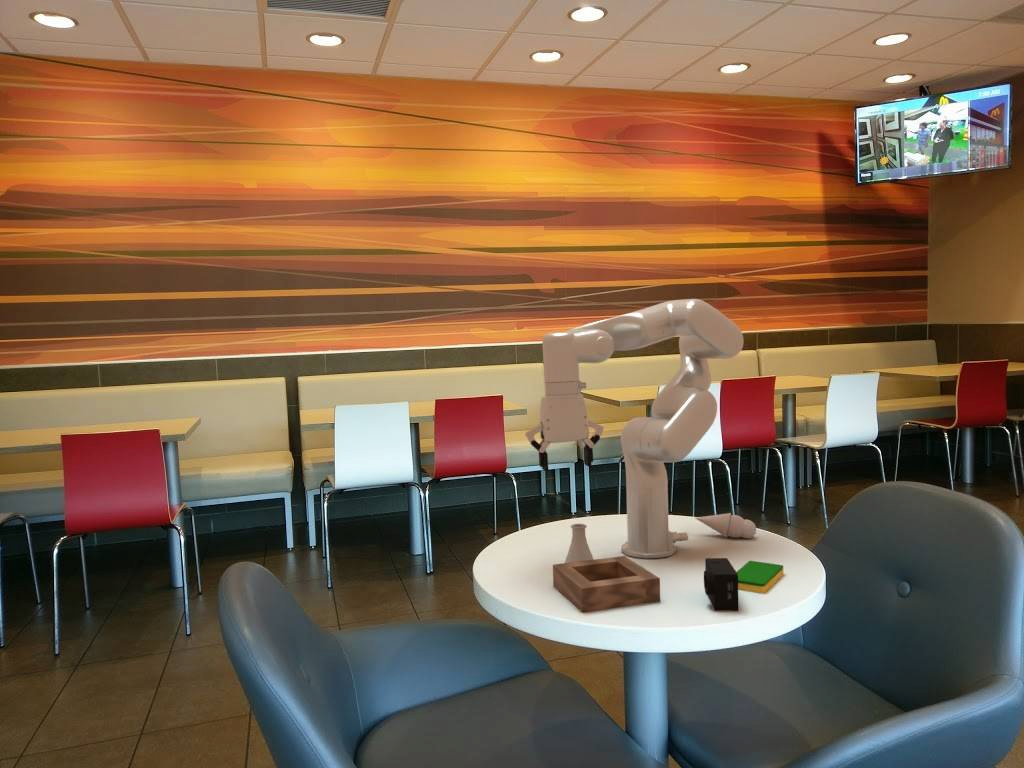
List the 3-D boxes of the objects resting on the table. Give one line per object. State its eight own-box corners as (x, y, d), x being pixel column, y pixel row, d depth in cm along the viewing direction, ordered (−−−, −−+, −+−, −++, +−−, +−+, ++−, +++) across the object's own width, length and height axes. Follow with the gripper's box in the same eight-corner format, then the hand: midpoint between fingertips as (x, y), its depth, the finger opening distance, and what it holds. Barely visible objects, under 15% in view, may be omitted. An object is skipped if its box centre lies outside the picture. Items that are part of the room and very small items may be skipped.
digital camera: (699, 592, 150) (698, 557, 150) (727, 592, 150) (727, 557, 149) (708, 611, 140) (707, 574, 140) (738, 611, 139) (737, 573, 139)
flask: (556, 570, 167) (555, 525, 166) (578, 563, 172) (577, 519, 171) (581, 577, 162) (579, 531, 161) (603, 569, 167) (602, 524, 166)
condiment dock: (624, 576, 161) (624, 555, 161) (660, 601, 146) (659, 578, 146) (553, 586, 157) (552, 564, 156) (582, 612, 141) (581, 588, 141)
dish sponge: (728, 590, 152) (727, 578, 152) (749, 571, 163) (749, 560, 163) (764, 596, 148) (764, 583, 148) (783, 576, 159) (783, 564, 159)
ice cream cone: (692, 533, 193) (753, 547, 188) (691, 523, 188) (754, 537, 183) (696, 512, 196) (757, 525, 191) (696, 501, 191) (758, 514, 186)
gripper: (595, 385, 170) (599, 461, 171) (519, 391, 166) (524, 468, 168) (606, 387, 162) (610, 467, 164) (527, 393, 159) (531, 474, 160)
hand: (566, 467), depth 166 cm, fingers open, 9 cm apart
